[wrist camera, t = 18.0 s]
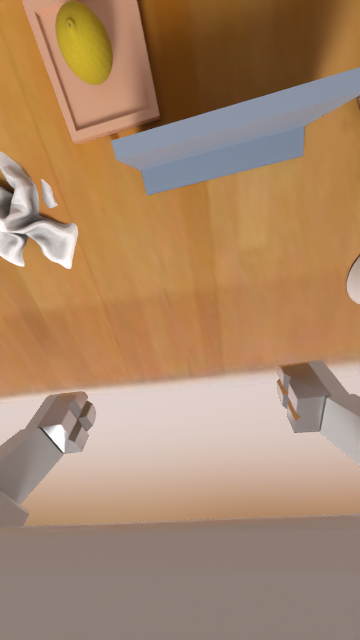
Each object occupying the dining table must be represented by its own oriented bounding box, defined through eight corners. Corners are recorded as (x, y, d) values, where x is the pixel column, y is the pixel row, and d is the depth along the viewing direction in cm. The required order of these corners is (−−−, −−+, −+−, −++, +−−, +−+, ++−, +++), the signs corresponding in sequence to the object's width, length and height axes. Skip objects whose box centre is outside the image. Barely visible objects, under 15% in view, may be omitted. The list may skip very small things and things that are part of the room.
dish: (132, -29, 25) (128, -44, 23) (160, 119, 31) (159, 115, 30) (31, 12, 27) (22, 1, 25) (78, 144, 33) (73, 141, 31)
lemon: (71, 35, 27) (30, -19, 20) (115, 29, 26) (89, -27, 20) (84, 97, 30) (52, 69, 23) (124, 93, 29) (104, 62, 22)
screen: (302, 113, 30) (376, 62, 18) (300, 156, 33) (364, 136, 21) (138, 158, 34) (111, 140, 22) (148, 195, 36) (127, 197, 24)
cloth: (94, 263, 43) (81, 273, 38) (10, 278, 45) (-13, 289, 40) (38, 115, 32) (8, 100, 27) (-69, 144, 34) (-116, 136, 29)
